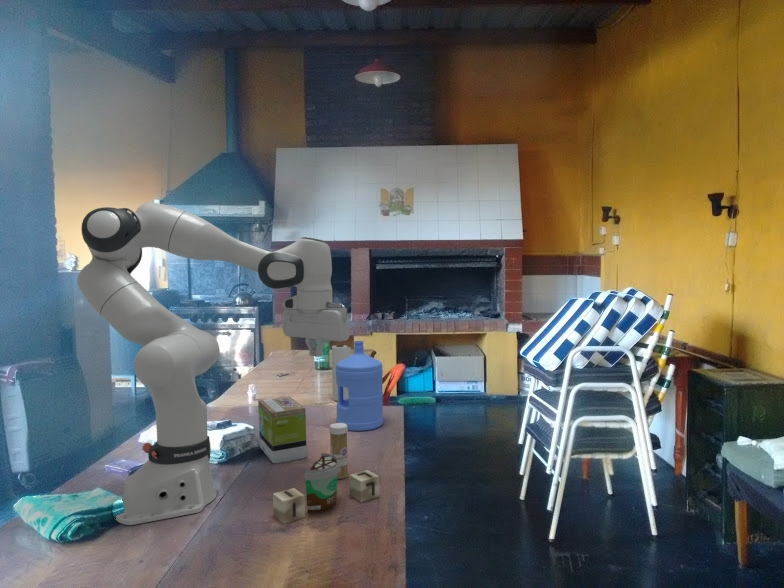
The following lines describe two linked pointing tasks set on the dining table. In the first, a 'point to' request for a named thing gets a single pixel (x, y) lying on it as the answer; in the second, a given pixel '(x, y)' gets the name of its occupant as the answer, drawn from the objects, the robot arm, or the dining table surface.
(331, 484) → the food container
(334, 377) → the paper towel roll
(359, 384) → the water jug
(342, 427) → the sprinkles bottle
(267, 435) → the tea box
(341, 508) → the dining table surface
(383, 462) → the dining table surface
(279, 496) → the numbered block one
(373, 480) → the numbered block seven
